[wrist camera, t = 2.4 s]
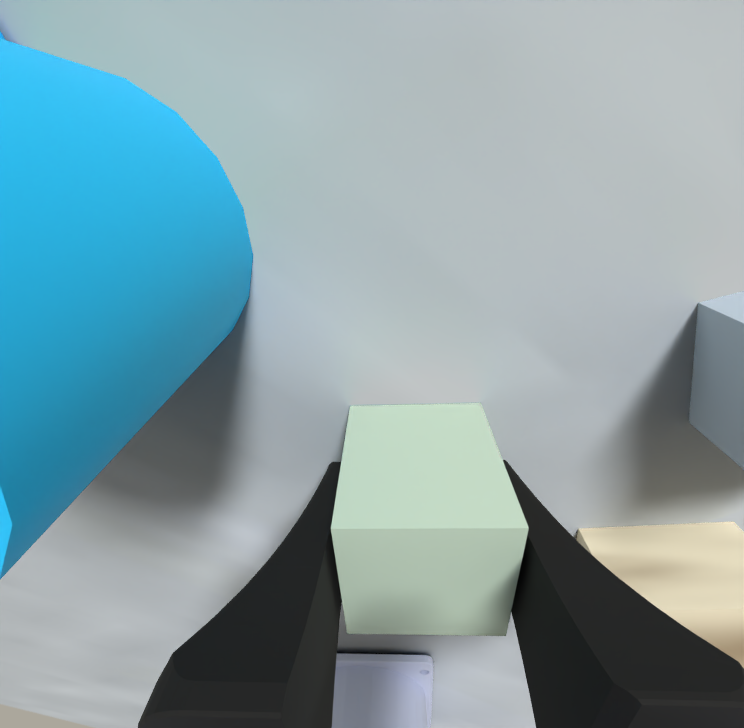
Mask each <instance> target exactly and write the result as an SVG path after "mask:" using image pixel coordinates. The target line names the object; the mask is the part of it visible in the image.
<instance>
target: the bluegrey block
mask: <svg viewBox="0 0 744 728" xmlns="http://www.w3.org/2000/svg"><path fill="white" fill-rule="evenodd" d="M689 423H690V424H691V425H693V426H694V427H695V428H696V429H697V430H698V431H700V432H701V433H702V434H703V435H704V436H705V437H707V438H708V439H709V440H710V441H711V442H712V443H713V444H715V445H716V446H717V447H718V448H719V449H720V450H722V451H723V452H724V453H725V454H726V455H727V456H729V457H730V458H731V459H732V460H733V461H734V462H735V463H737V464H738V465H739V466H740V467H741V468H742V469H744V291H742V292H738V293H734V294H730V295H726V296H723V297H719V298H715V299H711V300H707V301H703V302H699V303H698V312H697V325H696V337H695V350H694V362H693V375H692V388H691V400H690V413H689Z"/></svg>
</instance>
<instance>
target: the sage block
mask: <svg viewBox="0 0 744 728" xmlns="http://www.w3.org/2000/svg"><path fill="white" fill-rule="evenodd" d="M528 530H529V527H528V525H527V522H526V520H525V517H524V514H523V512H522V509H521V507H520V504H519V501H518V499H517V496H516V494H515V491H514V488H513V486H512V483H511V481H510V478H509V475H508V473H507V470H506V468H505V465H504V462H503V460H502V457H501V455H500V452H499V449H498V447H497V444H496V442H495V439H494V436H493V434H492V431H491V429H490V426H489V423H488V421H487V418H486V416H485V413H484V410H483V408H482V405H481V403H456V404H412V405H367V406H350V409H349V416H348V422H347V429H346V435H345V441H344V448H343V454H342V461H341V467H340V473H339V480H338V486H337V492H336V499H335V505H334V512H333V518H332V524H331V533H332V540H333V546H334V553H335V559H336V565H337V572H338V578H339V585H340V591H341V598H342V604H343V610H344V617H345V623H346V630H347V634H401V635H476V636H506V633H507V628H508V623H509V619H510V614H511V609H512V605H513V600H514V595H515V591H516V586H517V581H518V577H519V572H520V567H521V563H522V558H523V553H524V549H525V544H526V539H527V534H528Z"/></svg>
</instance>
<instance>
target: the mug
mask: <svg viewBox="0 0 744 728" xmlns="http://www.w3.org/2000/svg"><path fill="white" fill-rule="evenodd" d="M252 262H253V253H252V248H251V243H250V238H249V234H248V229H247V224H246V219H245V215H244V210H243V207H242V205H241V203H240V201H239V199H238V197H237V195H236V193H235V191H234V189H233V187H232V185H231V184H230V182H229V180H228V178H227V176H226V174H225V172H224V170H223V168H222V166H221V164H220V162H219V160H218V158H217V157H216V156H215V155H214V154H213V153H212V151H211V150H210V149H209V148H208V147H207V146H206V145H205V144H204V143H203V141H202V140H201V139H200V138H199V137H198V136H197V135H196V134H195V132H194V131H193V130H192V129H191V128H190V127H189V126H188V125H187V123H186V122H185V121H184V120H183V119H182V118H181V117H180V116H179V114H178V113H177V112H175V111H174V110H172V109H171V108H169V107H168V106H166V105H165V104H163V103H162V102H160V101H159V100H157V99H156V98H154V97H153V96H151V95H149V94H148V93H146V92H145V91H143V90H142V89H140V88H139V87H137V86H136V85H134V84H133V83H131V82H130V81H128V80H127V79H125V78H122V77H119V76H116V75H113V74H110V73H107V72H104V71H100V70H97V69H94V68H91V67H88V66H85V65H82V64H78V63H75V62H72V61H69V60H66V59H63V58H60V57H57V56H53V55H50V54H47V53H44V52H41V51H38V50H35V49H32V48H28V47H25V46H22V45H19V44H16V43H13V42H10V41H6V40H5V38H4V36H3V35H2V33H1V31H0V579H1V578H2V577H3V576H4V575H5V574H6V573H7V572H8V570H9V569H10V568H11V567H12V566H13V565H14V564H15V563H16V562H17V561H18V560H19V559H20V558H21V557H22V555H23V554H24V553H25V552H26V551H27V550H28V549H29V548H30V547H31V546H32V545H33V544H34V543H35V542H36V540H37V539H38V538H39V537H40V536H41V535H42V534H43V533H44V532H45V531H46V530H47V529H48V528H49V527H50V525H51V524H52V523H53V522H54V521H55V520H56V519H57V518H58V517H59V516H60V515H61V514H62V513H63V511H64V510H65V509H66V508H67V507H68V506H69V505H70V504H71V503H72V502H73V501H74V500H75V499H76V498H77V496H78V495H79V494H80V493H81V492H82V491H83V490H84V489H85V488H86V487H87V486H88V485H89V484H90V483H91V481H92V480H93V479H94V478H95V477H96V476H97V475H98V474H99V473H100V472H101V471H102V470H103V469H104V468H105V466H106V465H107V464H108V463H109V462H110V461H111V460H112V459H113V458H114V457H115V456H116V455H117V454H118V452H119V451H120V450H121V449H122V448H123V447H124V446H125V445H126V444H127V443H128V442H129V441H130V440H131V439H132V437H133V436H134V435H135V434H136V433H137V432H138V431H139V430H140V429H141V428H142V427H143V426H144V425H145V424H146V422H147V421H148V420H149V419H150V418H151V417H152V416H153V415H154V414H155V413H156V412H157V411H158V410H159V409H160V407H161V406H162V405H163V404H164V403H165V402H166V401H167V400H168V399H169V398H170V397H171V396H172V395H173V394H174V392H175V391H176V390H177V389H178V388H179V387H180V386H181V385H182V384H183V383H184V382H185V381H186V380H187V378H188V377H189V376H190V375H191V374H192V373H193V372H194V371H195V370H196V369H197V368H198V367H199V366H200V365H201V363H202V362H203V361H204V360H205V359H206V358H207V357H208V356H209V355H210V354H211V353H212V352H213V351H214V350H215V348H216V347H217V346H218V345H219V344H220V343H221V342H222V341H223V340H224V339H225V338H226V337H227V336H228V335H229V333H230V332H231V331H232V330H233V329H234V327H235V325H236V323H237V321H238V319H239V317H240V314H241V312H242V310H243V308H244V306H245V304H246V302H247V300H248V298H249V292H250V282H251V272H252Z"/></svg>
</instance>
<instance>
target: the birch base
mask: <svg viewBox="0 0 744 728" xmlns="http://www.w3.org/2000/svg"><path fill="white" fill-rule="evenodd" d="M576 540H577V541H578V542H579V543H580V544H581V545H582V546H583V547H584V548H585V549H586V550H587V551H588V552H589V553H590V554H592V555H593V556H594V557H595V558H596V559H597V560H598V561H599V562H601V563H602V564H603V565H604V566H605V567H606V568H607V569H609V570H610V571H611V572H612V573H613V574H615V575H616V576H617V577H618V578H619V579H621V580H622V581H623V582H625V583H626V584H627V585H628V586H630V587H631V588H632V589H634V590H635V591H636V592H637V593H639V594H640V595H641V596H643V597H644V598H645V599H646V600H648V601H649V602H650V603H652V604H653V605H654V606H656V607H657V608H659V609H660V610H661V611H663V612H664V613H666V614H667V615H668V616H670V617H671V618H673V619H674V620H676V621H677V622H678V623H680V624H681V625H683V626H684V627H686V628H687V629H689V630H690V631H692V632H693V633H695V634H696V635H698V636H699V637H701V638H702V639H704V640H706V641H707V642H709V643H710V644H712V645H713V646H715V647H716V648H718V649H720V650H721V651H723V652H724V653H726V654H727V655H729V656H731V657H732V658H734V659H735V660H737V661H738V662H739V663H740V664H741V665H742V667H743V668H744V532H743V531H742V530H741V529H740V528H739V527H738V526H737V525H736V524H735V523H734V522H714V523H691V524H669V525H647V526H625V527H603V528H581V529H578V534H577V538H576Z"/></svg>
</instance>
